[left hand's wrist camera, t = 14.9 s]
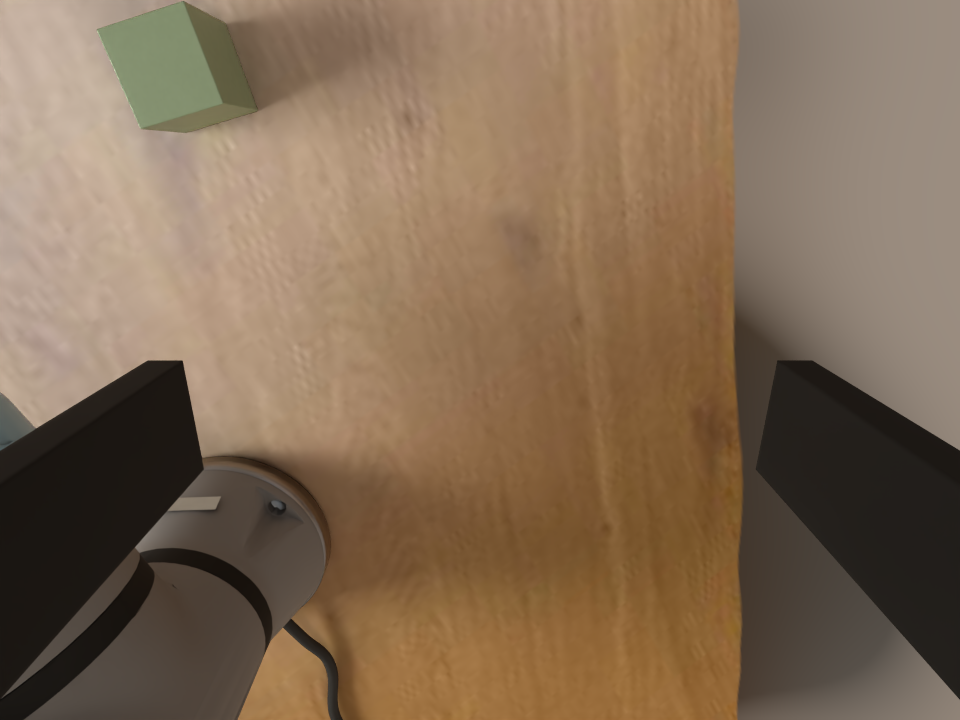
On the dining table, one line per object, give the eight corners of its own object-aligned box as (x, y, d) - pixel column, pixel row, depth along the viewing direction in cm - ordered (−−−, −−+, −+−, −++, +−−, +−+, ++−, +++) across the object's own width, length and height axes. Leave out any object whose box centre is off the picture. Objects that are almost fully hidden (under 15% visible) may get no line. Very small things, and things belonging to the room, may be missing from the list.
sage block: (258, 110, 35) (223, 103, 30) (185, 133, 35) (140, 129, 30) (225, 22, 33) (183, 0, 28) (149, 47, 33) (95, 29, 29)
